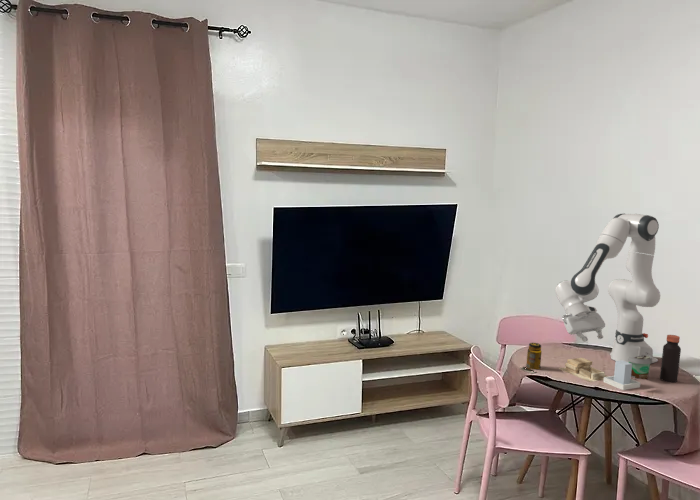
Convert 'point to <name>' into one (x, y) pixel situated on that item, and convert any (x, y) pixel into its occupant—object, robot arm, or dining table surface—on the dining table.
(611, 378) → the white square frame
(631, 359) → the food container
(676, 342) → the bottle
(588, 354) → the dining table surface
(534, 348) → the condiment
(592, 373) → the rack
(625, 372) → the light blue block
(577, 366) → the offcut stack
